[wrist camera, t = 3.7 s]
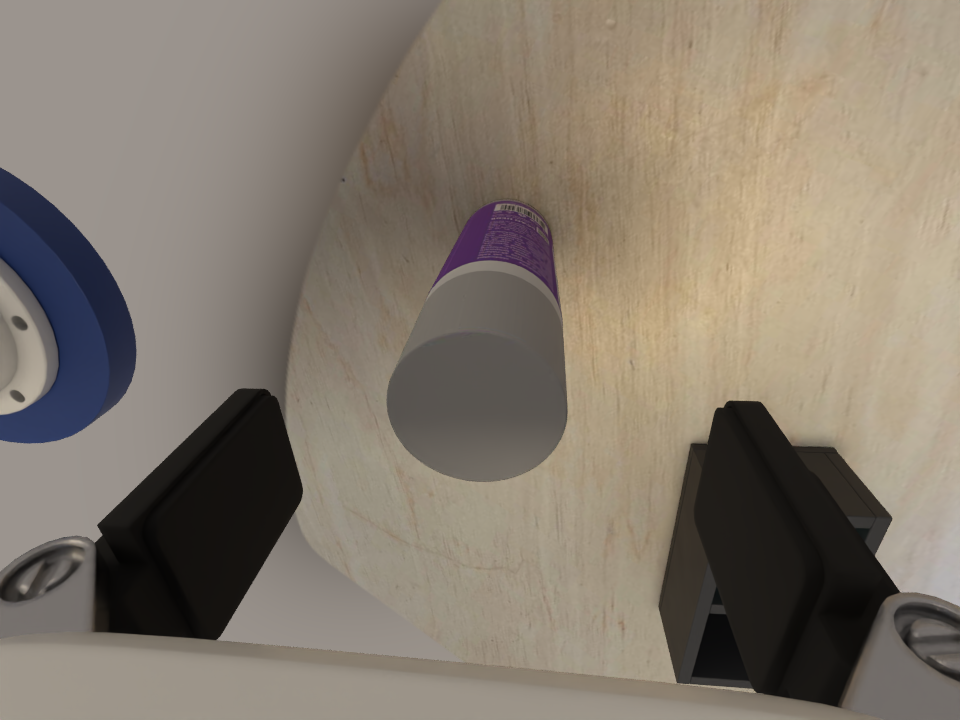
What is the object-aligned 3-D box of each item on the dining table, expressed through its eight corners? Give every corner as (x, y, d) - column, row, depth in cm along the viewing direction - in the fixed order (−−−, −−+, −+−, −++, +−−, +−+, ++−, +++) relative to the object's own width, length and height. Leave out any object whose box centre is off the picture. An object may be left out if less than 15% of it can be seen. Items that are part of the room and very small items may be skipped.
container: (443, 227, 25) (343, 375, 12) (526, 180, 23) (515, 289, 10) (489, 303, 27) (444, 507, 14) (568, 264, 25) (604, 449, 12)
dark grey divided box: (658, 606, 37) (676, 683, 32) (690, 443, 30) (721, 511, 25) (771, 613, 36) (808, 693, 31) (834, 447, 29) (894, 518, 24)
